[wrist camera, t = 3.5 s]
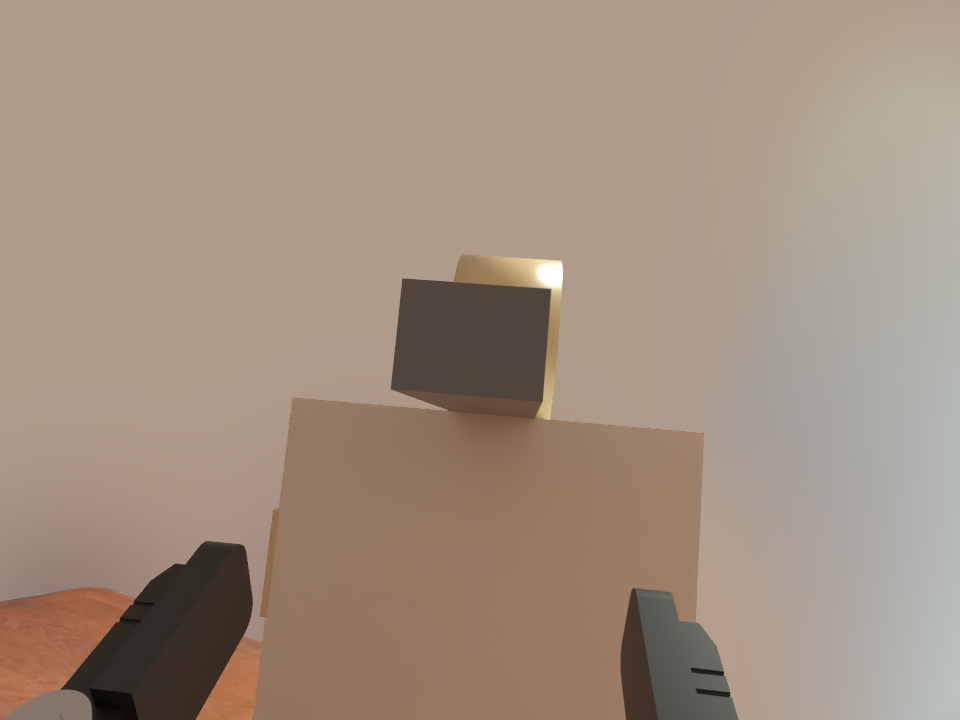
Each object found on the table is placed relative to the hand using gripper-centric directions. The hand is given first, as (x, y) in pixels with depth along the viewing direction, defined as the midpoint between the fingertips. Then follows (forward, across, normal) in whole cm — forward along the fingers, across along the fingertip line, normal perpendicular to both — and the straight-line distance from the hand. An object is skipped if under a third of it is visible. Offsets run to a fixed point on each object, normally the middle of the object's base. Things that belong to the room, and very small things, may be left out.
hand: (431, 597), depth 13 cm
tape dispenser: (+16, 0, +4) cm, 17 cm away
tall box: (+7, 0, +36) cm, 37 cm away
